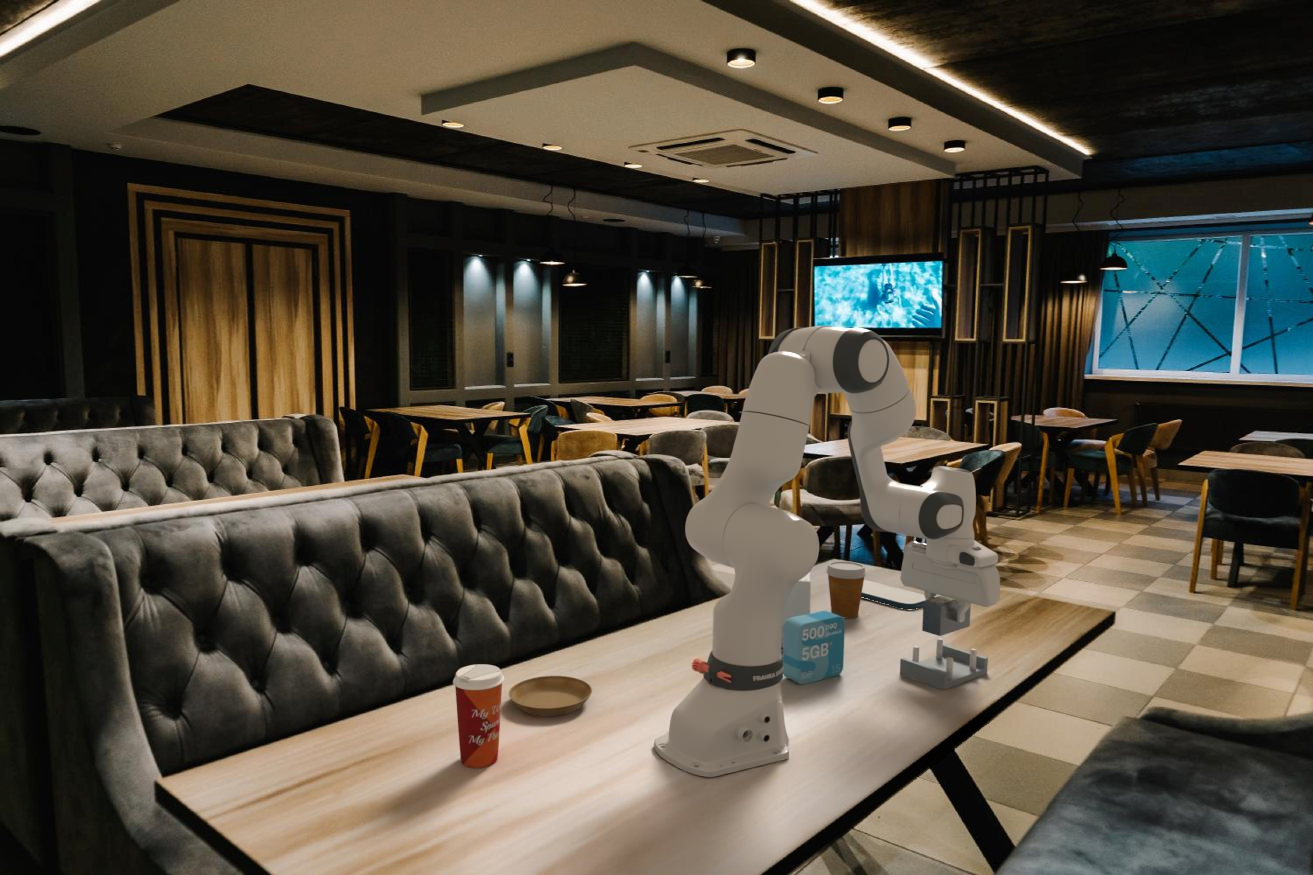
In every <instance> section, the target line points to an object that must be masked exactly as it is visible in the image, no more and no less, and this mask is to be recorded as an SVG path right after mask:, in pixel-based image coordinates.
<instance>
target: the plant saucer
mask: <svg viewBox="0 0 1313 875" xmlns="http://www.w3.org/2000/svg"><path fill="white" fill-rule="evenodd" d="M592 692H593V688H592V685H590V684H589V683H588V682H586V681H584V680H583V679H580V678H576V677H573V676H567V675H545V676H544V675H543V676H537V677H536V676H535V677H532V678H527V679H524V680H522V681H520V682H517V683H516V684H514V685H513V686H512V687H511V688H509V691H508V697H509V698H510V700H511V701H512V702H513V703H514V705H516V706H517V707H518V708H519V709H520V710H522V711H524V712H525V713H527V714H530V715H533V716H539V717H557V716H558V717H559V716H564V715H568V714H570V713H573V712H574V711H577V710H578V709H579V708H581V707H582V705H584V703H586V702H587V700H589V698H590V697H591V695H592V694H593V693H592Z"/></svg>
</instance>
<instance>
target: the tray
mask: <svg viewBox="0 0 1313 875" xmlns="http://www.w3.org/2000/svg"><path fill="white" fill-rule="evenodd" d="M969 650H970V651H967V650H964V649H961V648H958V647H955V646H951V645H949V644H945V643H944V639H943V638H936V653H935V656H932V657H930V658H926V659H923V660H921V661H920V647H919V646H917V645H913V646H912V659H909V658H906V657H901V658H900V661H899V663H900V664H899V665H900V666H899V675H901V676H904V677H906V678H908V679H911V680H914V681H917V682H920V683H923V684H926V685H928V686H931V687H934V688H937V689H939V690H943V691H945V690H948V689H949V690H950V689H951V688H953V687H956V686H958V685H961V684H963V683H966V682H969V681H971V680H974V679H976V678H980V677H982V676H984V675H986V674H988V667H989V666H988V664H989V662H988V661H989V657H986V656H983V655H981V654H977V653H978V649H976V648H970V649H969Z"/></svg>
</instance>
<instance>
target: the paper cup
mask: <svg viewBox="0 0 1313 875" xmlns="http://www.w3.org/2000/svg"><path fill="white" fill-rule="evenodd" d="M504 682H505V676H504V675H503V674H502V671H501V669H500V667H498V666H496V665H492V664H486V663H485V664H483V663H482V664H481V663H480V664H479V663H478V664H470V665H467V666H463V667H460V668H459V669H458V670H457V671H456V672H455V676H454V678H453V680H452V684H453V685H454V687H455V698H456V699H455V700H456V715H457V728H458V729H457V730H458V741H459V742H458V743H459V754H460V755H459V756H460V762H461V764H462V766H464V767H467V768H470V769H483V768H487V767H491V766H493V765H494V764H495V763H496V762H497V761H498V758H499V747H500V730H501V728H500V727H501V712H502V711H501V709H502V695H503V694H502V693H503V692H502V688H503V683H504Z"/></svg>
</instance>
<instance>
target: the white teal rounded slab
mask: <svg viewBox="0 0 1313 875" xmlns="http://www.w3.org/2000/svg"><path fill="white" fill-rule="evenodd" d="M924 594H925V593H924ZM924 594H923V593H919V592H916V591H912V590H908V589H903V588H899V587H896V586H892V585H887V584H883V583H879V582H875V581H871V580H868V579H864V582H863V588H862V594H861V597H864V598H868V599H870V600H874V601H878V602H881V603H885V604H889V605H891V606H894V607H893V608H895V607H897V608H896V609H899V608H903V609H902V610H904V609H915V610H917V609H916V608H919V609H921V607H922V608H923V601H925V600H926V599H925V596H924ZM891 606H890V607H891Z"/></svg>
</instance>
